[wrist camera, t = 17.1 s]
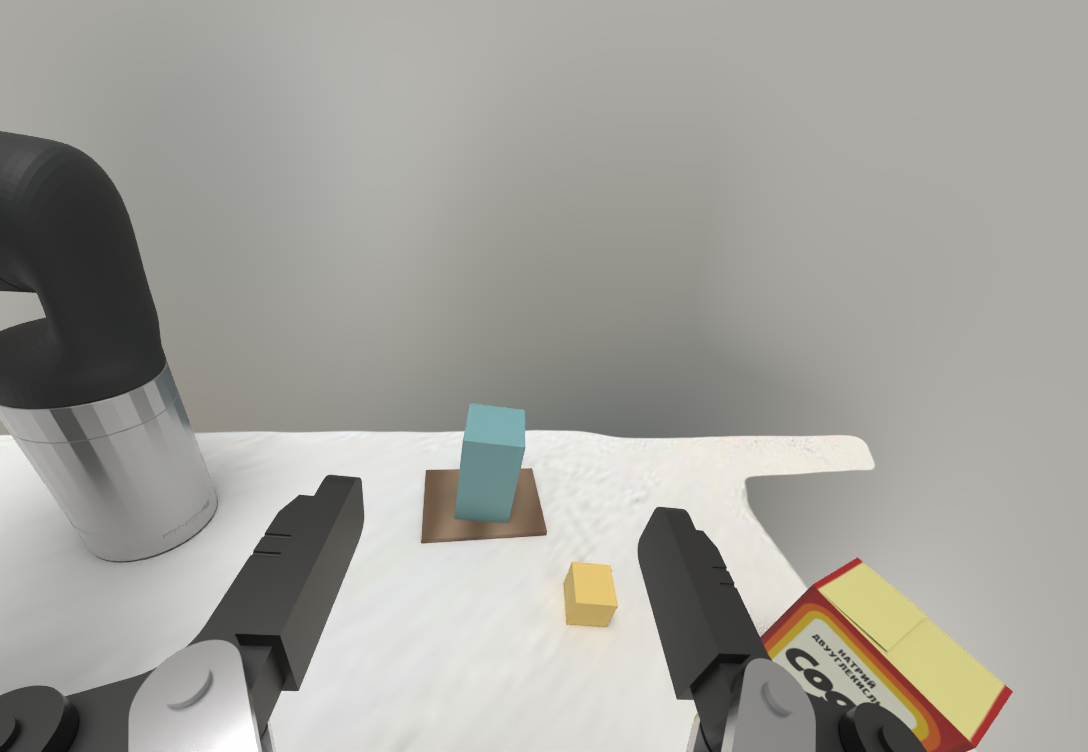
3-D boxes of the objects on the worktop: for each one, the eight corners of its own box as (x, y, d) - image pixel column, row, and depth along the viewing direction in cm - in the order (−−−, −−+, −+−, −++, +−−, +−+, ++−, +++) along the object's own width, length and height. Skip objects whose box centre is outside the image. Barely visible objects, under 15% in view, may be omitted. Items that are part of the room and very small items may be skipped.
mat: (421, 543, 41) (421, 539, 41) (425, 473, 49) (426, 470, 49) (545, 535, 45) (546, 531, 45) (531, 471, 53) (531, 468, 53)
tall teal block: (454, 519, 44) (462, 440, 38) (461, 478, 49) (470, 403, 43) (508, 523, 45) (525, 447, 38) (509, 482, 50) (524, 410, 44)
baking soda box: (858, 769, 32) (1017, 689, 24) (816, 817, 29) (981, 745, 21) (763, 649, 39) (860, 554, 30) (720, 677, 36) (815, 581, 27)
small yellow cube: (566, 624, 37) (576, 602, 35) (563, 584, 40) (572, 561, 38) (605, 627, 38) (617, 606, 36) (599, 587, 41) (610, 565, 39)
